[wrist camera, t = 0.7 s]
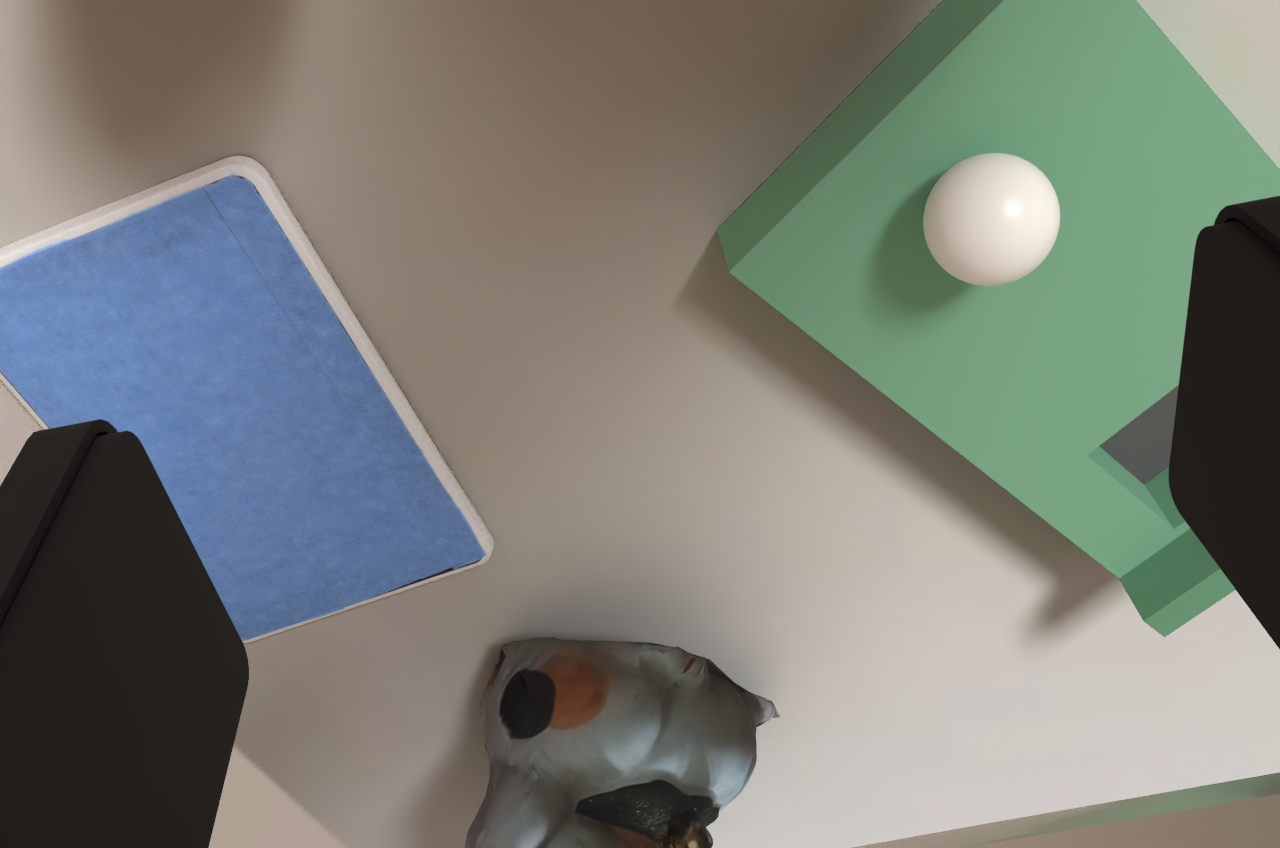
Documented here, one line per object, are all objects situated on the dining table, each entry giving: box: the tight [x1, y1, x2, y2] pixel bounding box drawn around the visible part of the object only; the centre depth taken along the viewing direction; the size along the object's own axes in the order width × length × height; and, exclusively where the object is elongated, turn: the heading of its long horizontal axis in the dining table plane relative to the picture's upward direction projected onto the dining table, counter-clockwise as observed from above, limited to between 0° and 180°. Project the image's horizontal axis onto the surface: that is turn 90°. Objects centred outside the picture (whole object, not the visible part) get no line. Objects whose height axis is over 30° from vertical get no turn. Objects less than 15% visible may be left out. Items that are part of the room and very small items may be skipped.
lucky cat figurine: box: [465, 638, 780, 848], centre depth 51 cm, size 15×12×14 cm
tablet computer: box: [0, 156, 495, 643], centre depth 44 cm, size 19×13×1 cm, turn 20°
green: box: [717, 0, 1280, 637], centre depth 41 cm, size 14×24×5 cm, turn 48°
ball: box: [923, 153, 1060, 286], centre depth 36 cm, size 4×4×4 cm
